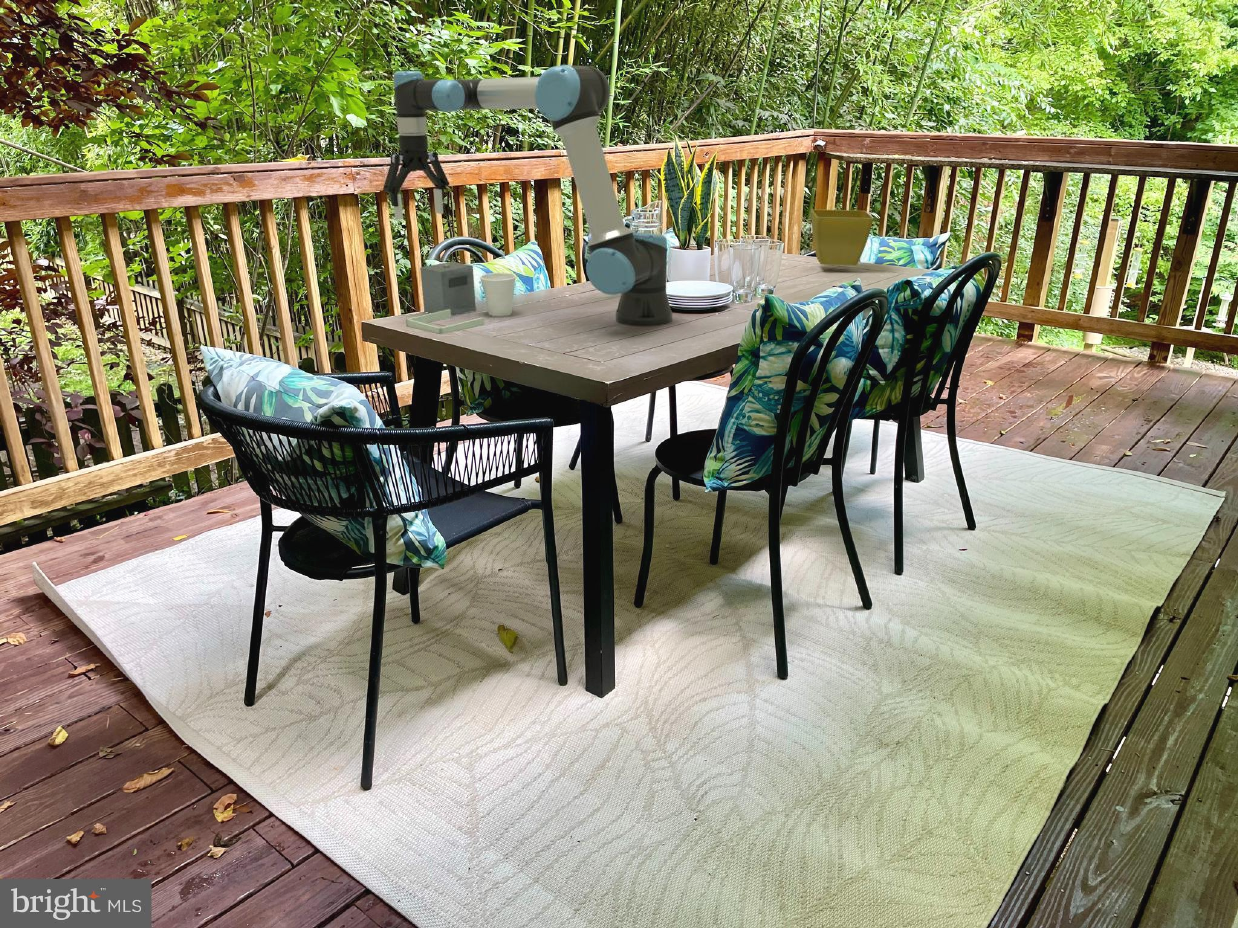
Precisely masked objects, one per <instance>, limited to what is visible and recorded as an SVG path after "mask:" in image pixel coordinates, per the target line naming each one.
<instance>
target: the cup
mask: <svg viewBox="0 0 1238 928" xmlns="http://www.w3.org/2000/svg"><path fill="white" fill-rule="evenodd" d="M516 278H517V275H516V274H514V273H510V272H491V273H485V274H482V275H480V276H479V279H480V283H481V285H482V291H483V294H484V299H485V304H486V308H487V312H488V315H489V316H490V315H492V316H491V317H506V316H507V317H508V316H511V315H512V311H513V304H514V302H513V301H514V294H515V287H516V286H515V285H516Z"/></svg>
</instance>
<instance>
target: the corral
mask: <svg viewBox="0 0 1238 928" xmlns="http://www.w3.org/2000/svg"><path fill="white" fill-rule="evenodd" d="M446 318H447V319H451V318H452V316H451V310H450V309H448V310H444V311H439V312H435V313H431V314H428V313H426V314H423V315H419V316H413V317H411V318H406V319H405V325H406V327H409V326H410V328H414V329H417V330H422V331H427V332H430V333H431V332H432V333H435V334H440V335H443V334H447V333H452V332H458V331H463V330H465V329H466V330H467V329H471V328H475V327H476V328H477V327H479V326H480V327H481V326H485V318H484V317H478V318H475V319H471V320H467V321H462V322H458V323H454V324H449V325H446V326H442V327H439V326H435V325H431V324H427V323H431V321H432V322H436V321H437V322H438V321H441V320H446Z"/></svg>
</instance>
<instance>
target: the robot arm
mask: <svg viewBox="0 0 1238 928" xmlns="http://www.w3.org/2000/svg"><path fill="white" fill-rule="evenodd" d="M610 86H611V85H610V83H609V81H608V79H607V77H606V75H605V74H604V73H603V72H602V71H601V70H599V69H598V68H596V67H594V66H592V65H591V66H590V65H568V64H560V65H555V66H552V67H550V68H547V69H546V70H545V71H543V72H542V74H540V76H529V77H528V76H526V77H503V78H502V77H501V78H500V77H499V78H496V77H494V78H471V79H469V78H468V79H467V78H466V79H448V78H446V79H424V76H423V73H422V71H417V70H415V71H414V70H411V71H409V70H408V71H407V70H405V71H403V70H401V71H399V70H398V71H395V72H394V73H393V92H394V100H395V109H396V110H395V111H396V120H397V121H396V122H397V131H398V133H399V134H400V135H399V136H398V144H399V145H398V147H399V149H400V155H399V154H390V165H389V167H388V171H387V174H386V178H385V181H384V185H383V188H382V190H383V192H386V193H388V194H389V195H390V204H391V206H392V207H393V212H394V219H397V220H404V215H403V213H404V211H403V203H402V202H403V201H402V194H401V193H399V192H400V190H401V188H402V187H403V185H404V183H405V181H406V180H407V178H408V176H409V175H410V174H411V172H417V171H420V172H423V173H424V174H425V176H426V177H427V178H428V179H429V181H430V182H431V183H432V185H433V186H434V187H435V188H433V190H432V191H433V200H434V202H433V203H434V213H435V214H440V215H443V214H444V203H443V201H445V190H446V189H447V187H449V186H450V181H449V179H448V177H447V176H446V173H445V171H444V169H443V166H442V164H441V162H440V160H439V155H438V152H436V151H429V152H428V149H429V143H428V142H429V141H428V135H427V134H426V133H428V127H427V125H428V124H427V117H426V116H427V115H426V112H427V111H431V112H443V113H453V112H458V111H465V110H466V111H468V110H469V111H471V110H473V111H477V110H480V111H481V110H518V109H519V110H521V109H522V110H523V109H524V110H525V109H527V110H528V109H530V110H531V109H537V110H538V112H539V113H540V114H541V116H544V118H546V119H547V120H549V121H550V124H551V128H552V131H553V133H554V134H555V135H557V136H559V137H560V138H561V139H562V142H563V146H564V149H565V153H566V155H567V156H566V157H567V159H568V163H569V165H570V169H571V172H572V176H573V179H574V183H575V186H576V189H577V192H578V196H579V199H580V200H579V201H580V203H581V206H582V210H583V213H584V216H585V217H584V218H585V220H586V223H587V226H588V230H589V233H590V239H589V241H588V242H587V249H588V252H589V257H588V259H587V262H586V265H585V266H586V267H585V270H586V275H587V277H588V278H587V279H588V280H589V282H590V283H591V285H592V287H594V288H595V289H596V290H597V291H600V292H601V293H602V294H605V295H609V296H614V295H618V294H621V295H620V298H619V301H618V305H617V309H616V311H615V322H616V323H619V324H620V325H626V326H635V327H653V326H654V327H656V326H662V325H667V324H670V323H672V322H673V311H672V309H671V305H670V302H669V298H668V294H667V267H668V266H667V264H668V251H669V250H668V246H667V245H668V243H667V242H668V241H667V237H666V236H664V234H660V233H659V234H658V233H648V232H634V231H633V230H631V229H630V228H628V227H626V226H625V223H624V220H623V216H622V212H621V209H620V205H619V202H618V198H617V195H616V192H615V188H614V185H613V181H612V177H611V174H610V171H609V168H608V164H607V160H606V157H605V153H604V150H603V149H604V148H603V146H602V142H601V139H600V136H599V132H598V128H597V127H598V124H599V121H600V119H601V115H600V113H602V111H603V110H605V108H606V107H607V105H608V103H609V100H610V95H611V87H610ZM428 161H429V162H428ZM401 163H402V164H401ZM429 163H430V164H431V165H430V164H429ZM400 164H401V166H400ZM432 168H433V169H432Z"/></svg>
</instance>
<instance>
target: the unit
mask: <svg viewBox="0 0 1238 928" xmlns="http://www.w3.org/2000/svg"><path fill="white" fill-rule="evenodd" d="M419 269H420V271H419V272H420V280H421V290H422V301H423V311H424V312H428V313H435V312H439V311H444V310H448V309H450V310H451V315H453V316H457V315H456V314H458V315H462V314H461V313H463V314H466V313H465V312H468V313H470V312H469V311H473V312H477V307H476V293H475V291H476V290H475V280H474V279H475V276H474V266H473V265H472V264H471V265H470V264H468V263H467V264H466V263H462V262H457V261H448V262H444V263H443V262H441V263H438V264H432V265H428V266H427V265H426V266H420V268H419ZM428 313H427V314H428Z"/></svg>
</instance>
